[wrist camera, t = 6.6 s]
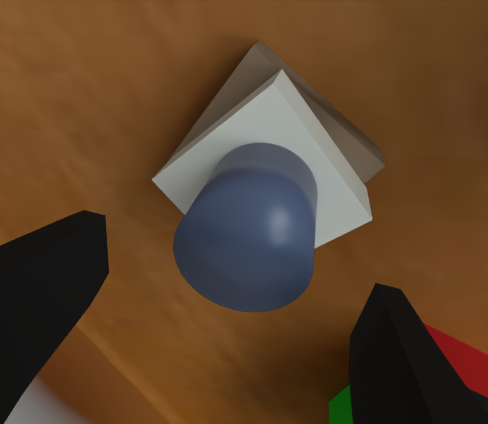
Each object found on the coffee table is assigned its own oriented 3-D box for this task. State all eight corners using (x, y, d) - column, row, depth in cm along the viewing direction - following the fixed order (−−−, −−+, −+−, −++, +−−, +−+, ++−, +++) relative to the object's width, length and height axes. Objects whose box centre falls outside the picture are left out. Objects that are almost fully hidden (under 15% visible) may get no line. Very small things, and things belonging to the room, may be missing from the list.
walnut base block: (378, 144, 17) (385, 166, 15) (278, 232, 20) (273, 260, 18) (262, 37, 15) (252, 45, 13) (177, 152, 19) (158, 172, 17)
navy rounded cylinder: (340, 180, 13) (344, 248, 9) (281, 254, 15) (267, 330, 12) (241, 121, 12) (208, 170, 9) (195, 205, 14) (154, 270, 11)
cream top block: (366, 188, 15) (372, 219, 13) (256, 248, 18) (246, 281, 16) (281, 68, 14) (273, 83, 11) (174, 155, 16) (151, 179, 14)
